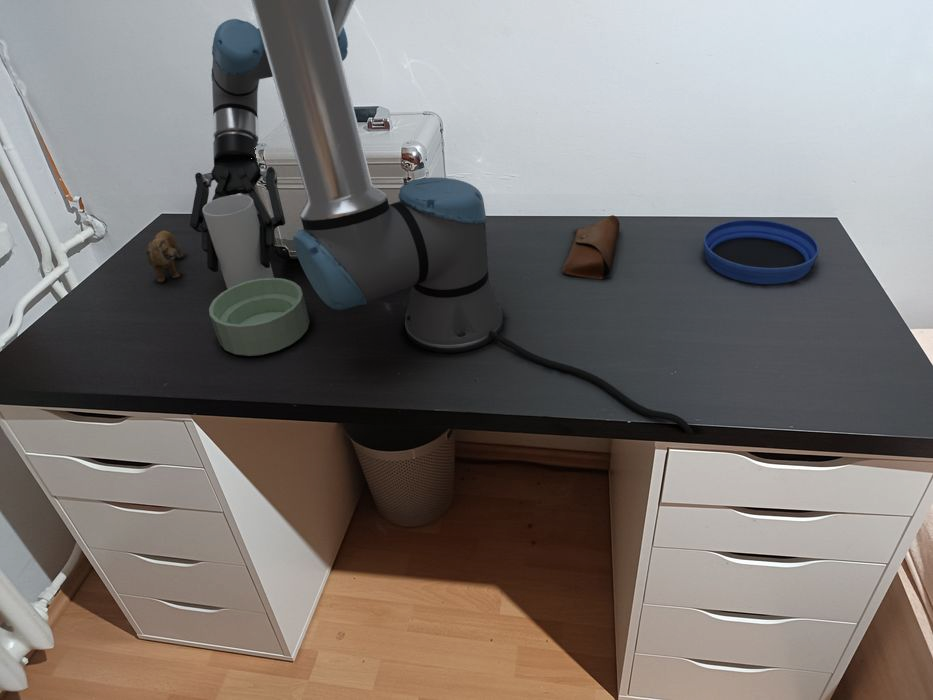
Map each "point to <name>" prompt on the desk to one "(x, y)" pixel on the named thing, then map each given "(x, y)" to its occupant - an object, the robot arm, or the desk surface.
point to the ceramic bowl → (259, 316)
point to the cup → (236, 238)
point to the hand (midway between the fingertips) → (239, 267)
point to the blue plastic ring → (760, 251)
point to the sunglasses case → (593, 249)
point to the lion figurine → (163, 253)
